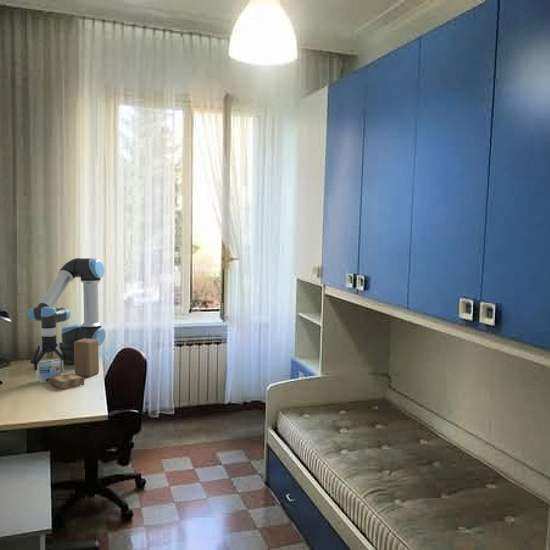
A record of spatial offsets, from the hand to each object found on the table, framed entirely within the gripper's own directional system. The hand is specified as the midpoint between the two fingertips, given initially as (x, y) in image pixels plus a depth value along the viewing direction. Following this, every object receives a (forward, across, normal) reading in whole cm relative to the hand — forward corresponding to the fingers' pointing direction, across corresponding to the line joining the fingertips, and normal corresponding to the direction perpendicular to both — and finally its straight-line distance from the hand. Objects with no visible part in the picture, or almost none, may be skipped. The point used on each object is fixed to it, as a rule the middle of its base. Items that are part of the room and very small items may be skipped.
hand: (49, 373), depth 309 cm
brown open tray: (+4, -2, +14) cm, 15 cm away
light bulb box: (+4, 0, 0) cm, 4 cm away
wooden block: (+4, -20, +3) cm, 21 cm away
